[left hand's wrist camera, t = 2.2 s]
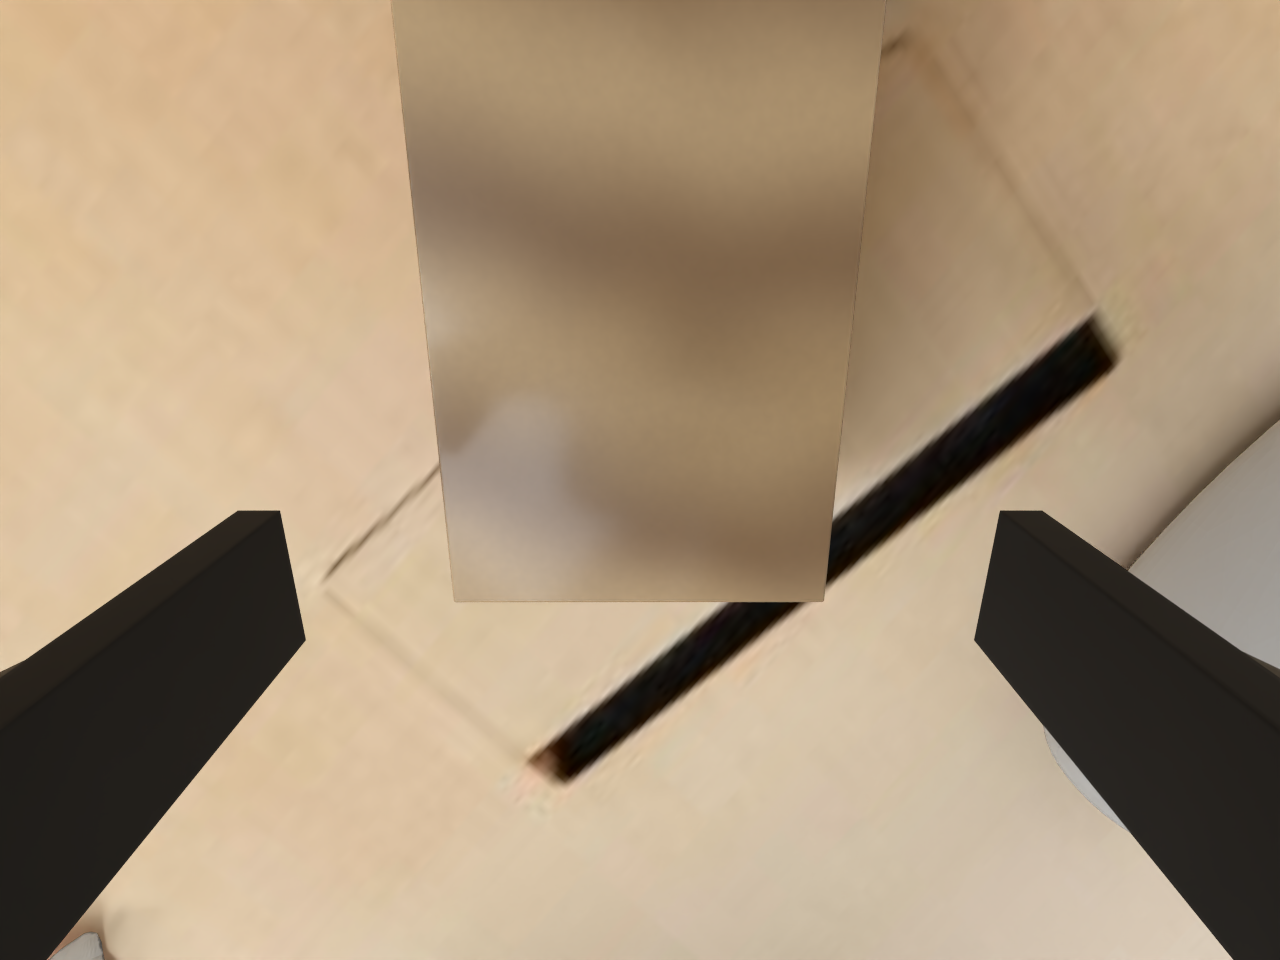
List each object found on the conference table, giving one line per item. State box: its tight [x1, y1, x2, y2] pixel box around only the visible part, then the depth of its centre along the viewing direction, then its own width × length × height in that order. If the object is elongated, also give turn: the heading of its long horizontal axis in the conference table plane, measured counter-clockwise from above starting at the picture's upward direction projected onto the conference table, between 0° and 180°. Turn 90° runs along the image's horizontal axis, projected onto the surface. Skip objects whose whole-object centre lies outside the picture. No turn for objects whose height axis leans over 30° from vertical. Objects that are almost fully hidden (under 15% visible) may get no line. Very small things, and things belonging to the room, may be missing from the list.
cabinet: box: [391, 0, 886, 602], centre depth 21 cm, size 20×11×10 cm, turn 0°
